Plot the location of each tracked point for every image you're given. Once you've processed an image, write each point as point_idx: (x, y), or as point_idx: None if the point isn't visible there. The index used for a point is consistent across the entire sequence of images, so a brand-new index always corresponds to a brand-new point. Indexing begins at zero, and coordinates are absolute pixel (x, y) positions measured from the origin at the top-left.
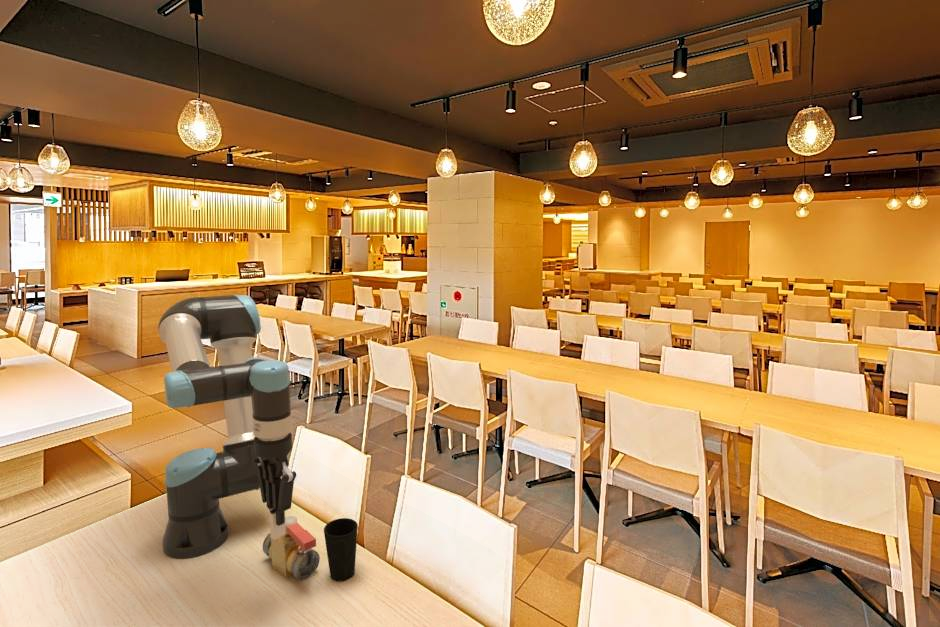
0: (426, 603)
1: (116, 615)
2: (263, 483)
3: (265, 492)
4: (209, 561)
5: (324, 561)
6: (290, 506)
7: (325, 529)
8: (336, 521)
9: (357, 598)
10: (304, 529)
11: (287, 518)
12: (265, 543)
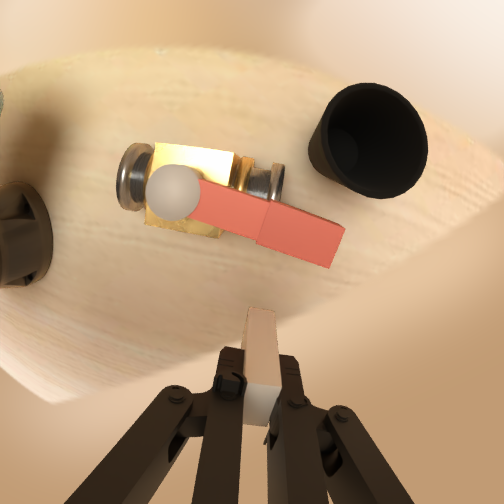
0: (489, 166)
1: (102, 384)
2: (147, 500)
3: (172, 461)
4: (72, 260)
5: (265, 135)
6: (356, 419)
7: (342, 173)
8: (333, 108)
9: (405, 201)
10: (264, 201)
11: (157, 186)
12: (130, 209)
